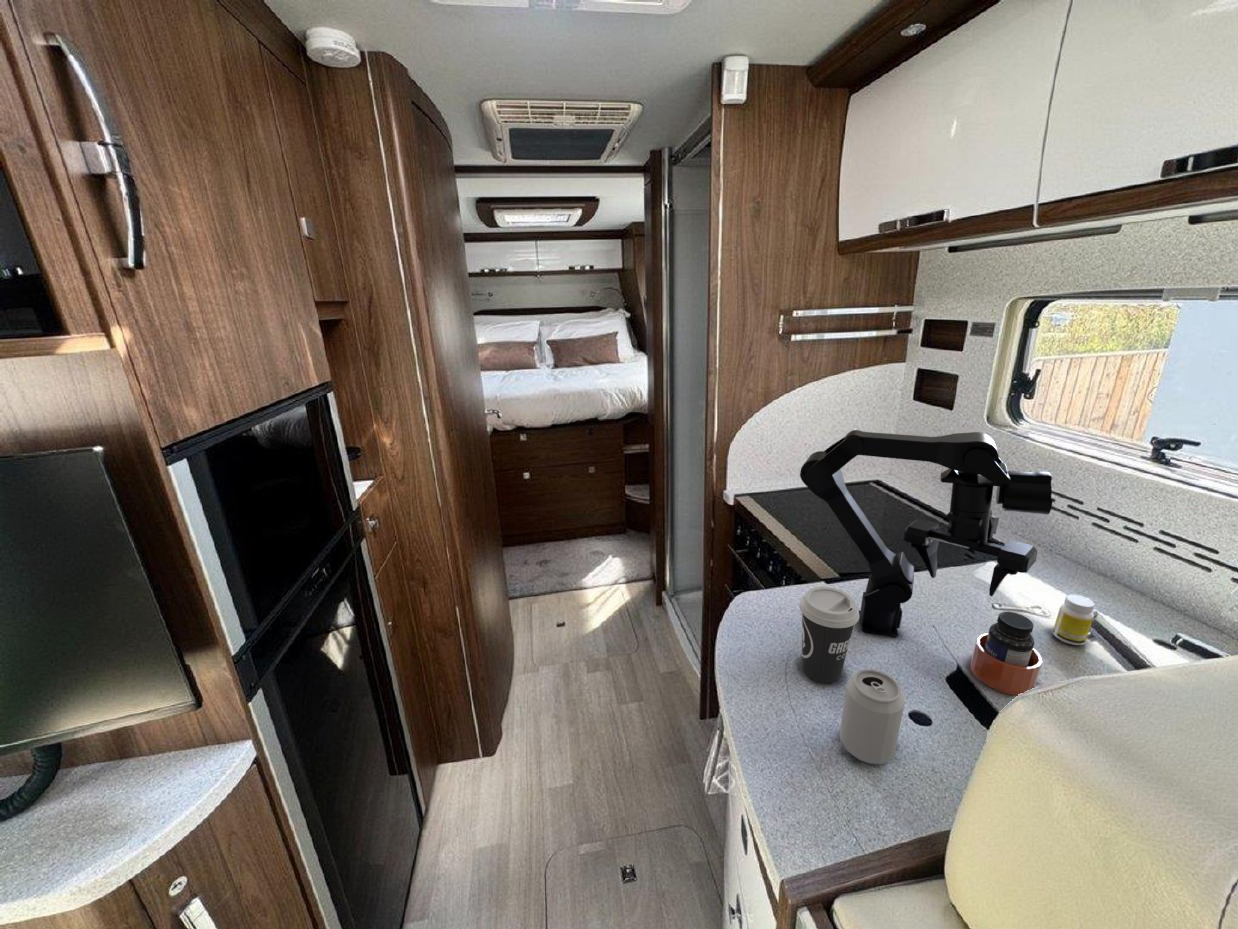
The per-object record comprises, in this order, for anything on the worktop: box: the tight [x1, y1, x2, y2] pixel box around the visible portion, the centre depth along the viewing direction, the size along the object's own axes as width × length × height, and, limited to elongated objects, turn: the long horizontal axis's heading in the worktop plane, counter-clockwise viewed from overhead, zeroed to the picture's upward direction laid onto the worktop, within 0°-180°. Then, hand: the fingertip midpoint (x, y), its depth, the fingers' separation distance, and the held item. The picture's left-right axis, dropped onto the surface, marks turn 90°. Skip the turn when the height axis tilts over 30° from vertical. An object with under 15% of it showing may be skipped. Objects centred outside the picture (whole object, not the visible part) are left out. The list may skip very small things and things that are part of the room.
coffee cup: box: [798, 586, 860, 685], centre depth 87 cm, size 10×10×15 cm
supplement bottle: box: [1052, 594, 1095, 646], centre depth 94 cm, size 5×5×8 cm
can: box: [839, 668, 906, 765], centre depth 73 cm, size 8×8×12 cm
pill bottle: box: [984, 611, 1035, 667], centre depth 85 cm, size 6×6×11 cm
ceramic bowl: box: [970, 632, 1043, 696], centre depth 86 cm, size 9×9×6 cm
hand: (961, 585), depth 91 cm, fingers open, 9 cm apart
